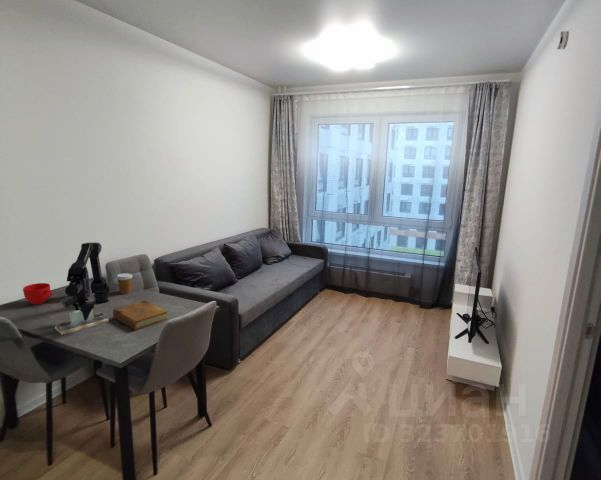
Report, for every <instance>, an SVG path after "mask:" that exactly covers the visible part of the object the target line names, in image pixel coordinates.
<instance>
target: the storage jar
mask: <svg viewBox="0 0 601 480" xmlns="http://www.w3.org/2000/svg"><path fill="white" fill-rule="evenodd" d="M71 278H77V277H71ZM85 282H86V290H87V291H88V293H86V294H87V298H88V299H89V298H90V297H91V286H90V276H89V273H88V274H87V278H86V279H85Z"/></svg>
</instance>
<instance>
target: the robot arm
mask: <svg viewBox="0 0 601 480" xmlns="http://www.w3.org/2000/svg"><path fill="white" fill-rule="evenodd" d="M101 252H102V244H101V243H100V242H84V243H81V245H80V251H79V253H78V256H77V259H76V260H75V261H74V262H73V263H72V264H71V265H70V267H69V268H68V272H67V277H66V282H68V285H67V286H66V287H65V289H64V293H65V294H66V295H67V296H66V297H63V298H62V299H60V303H61V304H62V307H64V308H65V309H67V308H69V307H70V306H73V308H74V311H77V310H79V311H81V312H82V314H83V318H84V320H87V319H88V316H89V314H90V312H91V310H92V309H93V310H94V309H95V303H96V304H97V305H100V304H103V303H104V304H105V303H109V302H110V300H109V298H108V297H109V296H108V293H109V292H110V286H109V284H108V283H107V280H106V278H104V277H103V275H102V274H103V273H102V268H101V262H100V253H101ZM88 261H89V263H90V268H91V273H92V278H93V280H92V282H91V283H90V292H91V294H93V302H94V303H93V302H91V301H89V297H88V298H87V294H86V293H88V291H87V290H86V282H85V279H86V278H87V274H88V275H89V269H88V267H87V264H88ZM71 277H77V278H71Z"/></svg>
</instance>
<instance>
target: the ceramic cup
mask: <svg viewBox="0 0 601 480" xmlns="http://www.w3.org/2000/svg"><path fill="white" fill-rule="evenodd" d="M22 291H23V297H24V299H25V300H26V301H27V302H28V303H30V304H32V305H41V304H44V303H45V302H46V301H47V300H48V299H49V298H51V297H52V296H53V290H51V284H50V283H47V282H39V283H32V284H31V283H30V284H29V285H26V286H24V287H23V288H22Z"/></svg>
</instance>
